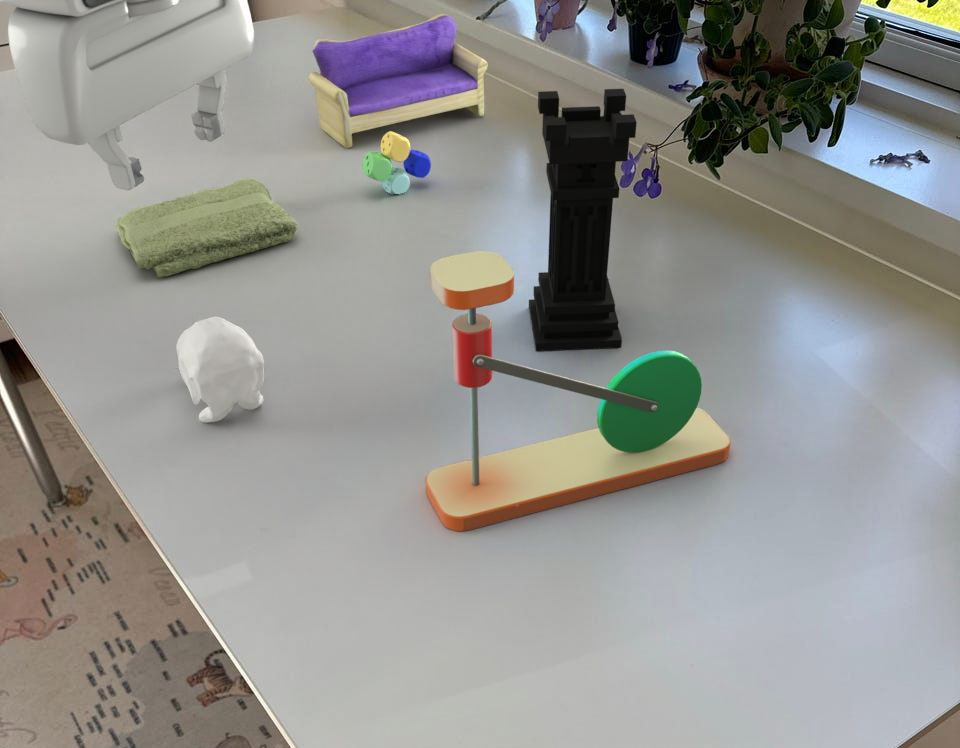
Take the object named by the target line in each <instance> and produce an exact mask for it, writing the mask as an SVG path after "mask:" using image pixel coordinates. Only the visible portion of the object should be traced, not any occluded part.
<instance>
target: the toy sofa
mask: <svg viewBox="0 0 960 748" xmlns="http://www.w3.org/2000/svg"><path fill="white" fill-rule="evenodd" d="M456 36H457V25H456V22H455V20H454V19H453V18H452V17H451V16H450V15H448V14H446V13H439V14H437V15H435V16H433V17H431V18H429V19H427V20H425V21H423V22H420V23H415V24H412V25H409V26H404V27H401V28H397V29H392V30H388V31H384V32H379V33H375V34H370V35H366V36H362V37H357V38H353V39H348V40H335V39H334V40H333V39H329V38H319V39H317V40H316V41H315V42H314V48H313V49H312V54H313V56H314V57H315V62H316V63H317V66H318V68H319V72H316V71H312V72H311V73H310V74H309V77H308V82H309V84H310V85H311V86H312V87H314V91H315V98H316V102H317V103H316V104H317V110H318V111H317V112H318V120H319V127H320V128H321V130H322V131H324V132H325V133H326V134H327V135H328V136H329V137H331V138H332V139H333V140H334V141H336V142H337V143H339V144H340V145H341V146H342V147H344V148H346V149H350V148H352V147H353V136H352V134H356V133H359V132H364V131H369V130H373V129H376V128H380V127H385V126H390V125H394V124H396V123H402V122H406V121H412V120H415V119H419V118H420V119H421V118H424V117H428V116H432V115H437V114H440V113H441V114H442V113H445V112H450V111H455V110H459V109H464V108H466V109H467V110H469V111H470V112H472V114H474V115H476V116H478V117H481V116H484V115H485V94H484V93H485V92H484V91H485V90H484V73H486V71H487V69H488V61H486V60H485V59H483V58H482V57H480V56H479V55H477V54H475V53H473V52H472V51H470V50H468V49H467V48H465V47H464V46H462V45H460V44H458V43H457V42H456V41H455V40H456Z"/></svg>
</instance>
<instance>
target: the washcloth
mask: <svg viewBox="0 0 960 748" xmlns="http://www.w3.org/2000/svg"><path fill="white" fill-rule="evenodd" d="M114 225H115V227H116V229H117V232H118V237H119V238H120V242H121V244H122V245H123V246H124V247H125V248H126V249H127V250H129V251H130V254H131V256H132V258H133V260H134V261H135V263H136V266H137V269H147V270H149V269H153V270H154V272H155V274H156V277H157V278H162V277H169V276H173V275H174V274H179V273H181V272H185V271H187V270H196V269H199V268H201V267H203V266H205V265H210V264H212V263H217V262H219V263H220V262H221V261H224V260H228V259H229V258H230V259H232V258H233V257H237V256H243V255H246V254H248V253H253V252H255V251H258V250H261V249H267V248H270V247H274V246H277V245H279V244H282V243H286V242H289V241H290V240H291V239H292V238H293V237H294V236H296V235H297V231H298V229H299V228H298V223H297V221H296V220H295V219H294V218H293V217H292V216H291V215H290V214H288V213H287V212H286V211H285V209H283V208H282V206H281V205H279V204H278V203H276V202H274V201H273V197H272V196H271V193H270V191H269V189H268V187H266V185H264V183H262V182H261V181H259V180H257V179H255V178H252V177H245V178H241V179H238V180H235V181H233V182H230V183H228V184H225V185H223V186H220V187H214V188H207V189H202V190H199V191H197V192H194V193H193V192H192V193H190V194H186V195H184V196H180V197H179V196H178V197H176V198H174V199H169V200H165V201H161V202H157V203H151V204H147V205H143V206H138V207H136V208H133V209H130V210H128V211H126V213H124V214H123V215H121V216H120V217H118V218H117V219H116V221H115V222H114Z"/></svg>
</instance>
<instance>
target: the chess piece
mask: <svg viewBox="0 0 960 748" xmlns="http://www.w3.org/2000/svg"><path fill="white" fill-rule="evenodd" d="M603 91H604V93H603V115H601V111H602V110H601V107H600V106H597V105H596V106H595V105H594V106H574V107H573V106H571V107H569V106H568V107H567V106H566V107H562V108H561V116H559V113H560V96H559V93H558V90H549V91H548V90H547V91H546V90H544V91H538V92H537V108H538V114H539V115H542V127H541V128H542V131H541V133H542V139H543V142H544V146H545V151H546V154H547V159H548V162H546V170H545V172H546V173H545V174H546V177H547V181H548V187H549V191H550V201H549V229H548V230H549V231H548V259H547V260H548V261H547V271H545V272H544V271H543V272H542V271H541V272H538V279H537V281H538V285H534V286H533V293H532V294H533V299H532V298H531V299H528V311H529V317H530V323H531V324H530V325H531V329H532V337H533V344H534V349H535V352H550V351H571V350H572V351H573V350H596V349H597V350H598V349H619V348H621V349H622V345H623V344H622V343H623V338H622V335H621V331H620V327H619V322H620V321H619V319H618V314H617V311H616V303H615V300H614V296H613V292H612V288H611V285H610V281H609V278H608V277H609V276H608V267H609V256H610V255H609V254H610V244H611V243H610V242H611V230H612V218H613V217H612V216H613V206H614V205H613V204H614V199H619V197H620V185H619V183H618V180H617V177H616V165H617V162H619V163H620V162H628V159H629V146H630V139H635V138H636V135H637V123H638V122H637V119H636V117H635V114H631V113H630V114H622V112H626V103H627V94H626V92H625V88H604V90H603Z"/></svg>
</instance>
